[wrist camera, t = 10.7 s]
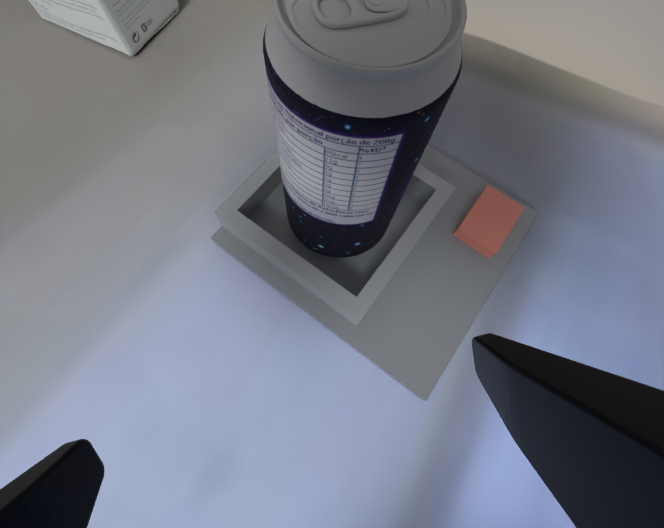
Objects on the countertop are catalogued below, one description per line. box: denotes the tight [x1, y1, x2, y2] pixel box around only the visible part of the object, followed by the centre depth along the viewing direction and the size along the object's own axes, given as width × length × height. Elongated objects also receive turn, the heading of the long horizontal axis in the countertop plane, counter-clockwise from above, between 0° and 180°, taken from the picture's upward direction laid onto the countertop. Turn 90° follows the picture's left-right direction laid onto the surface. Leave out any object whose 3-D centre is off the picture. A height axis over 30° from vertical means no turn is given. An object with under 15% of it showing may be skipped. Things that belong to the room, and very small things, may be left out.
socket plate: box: [211, 144, 538, 400], centre depth 20 cm, size 14×13×2 cm
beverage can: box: [263, 0, 467, 258], centre depth 14 cm, size 6×6×12 cm
